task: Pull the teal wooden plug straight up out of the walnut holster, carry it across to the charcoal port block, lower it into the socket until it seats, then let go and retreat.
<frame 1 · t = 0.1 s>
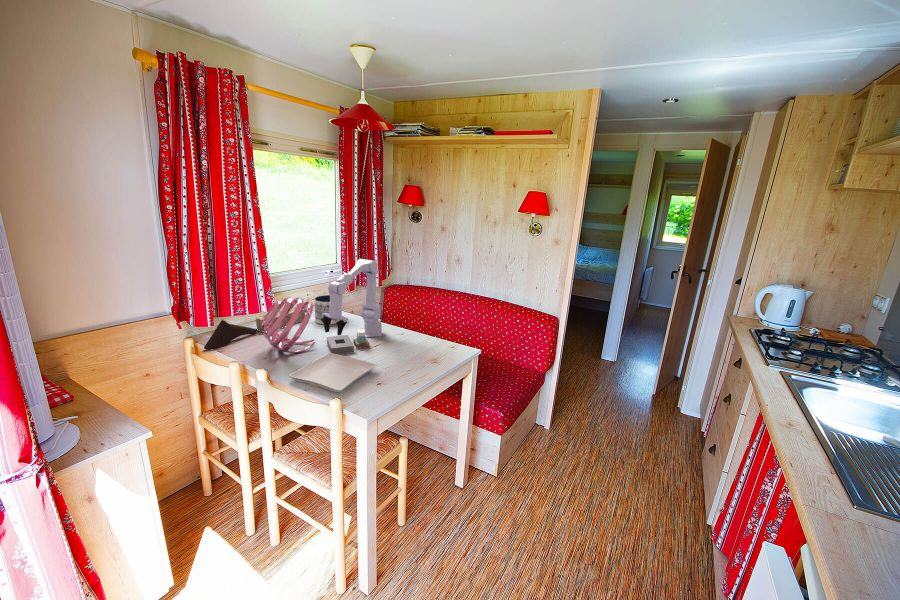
hand: (333, 333, 189), 11 cm above the table, tool pointing down, fingers open, 7 cm apart
holster: (232, 342, 199), on the table
plug: (361, 338, 202), in the plug holster
port block: (340, 347, 199), on the table
square plate: (334, 377, 169), on the table
spiral basket: (290, 348, 194), on the table
planter: (328, 320, 238), on the table
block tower: (283, 325, 226), on the table
plug holster: (361, 345, 203), on the table
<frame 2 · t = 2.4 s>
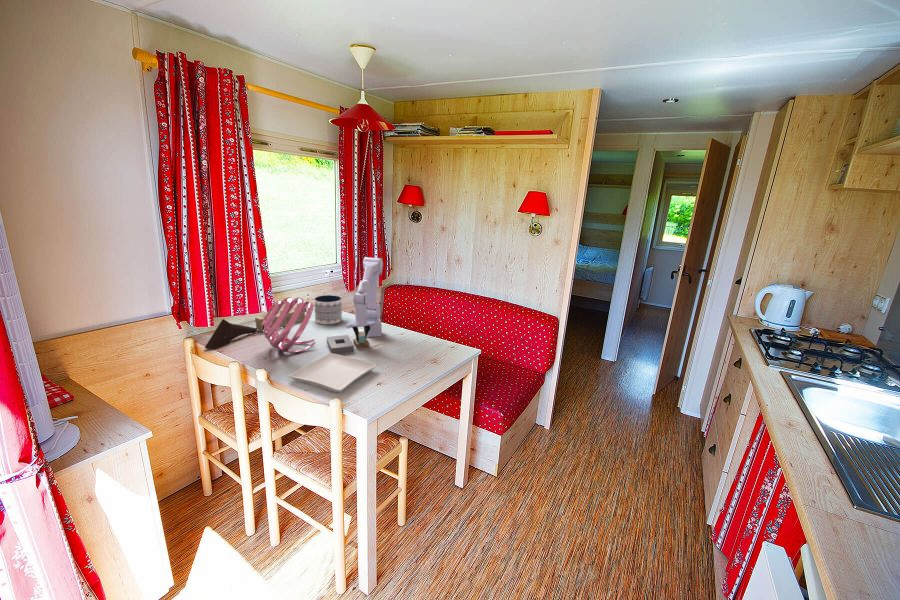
hand: (361, 339, 202), 3 cm above the table, tool pointing down, fingers closed on plug, 3 cm apart
plug: (361, 338, 202), in the plug holster, touching gripper
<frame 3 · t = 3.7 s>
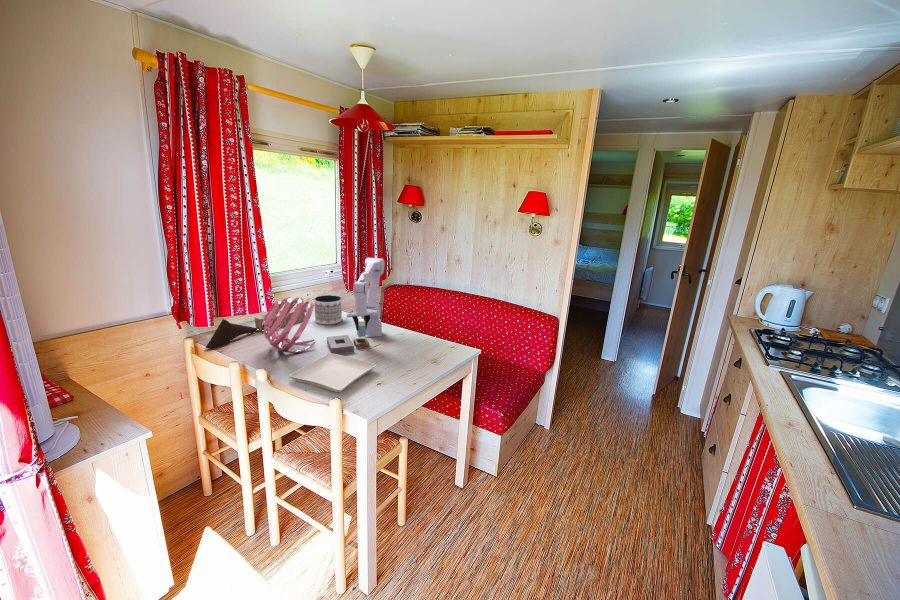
hand: (361, 329, 201), 9 cm above the table, tool pointing down, fingers closed on plug, 3 cm apart
plug: (361, 328, 201), point 10 cm above the table, touching gripper
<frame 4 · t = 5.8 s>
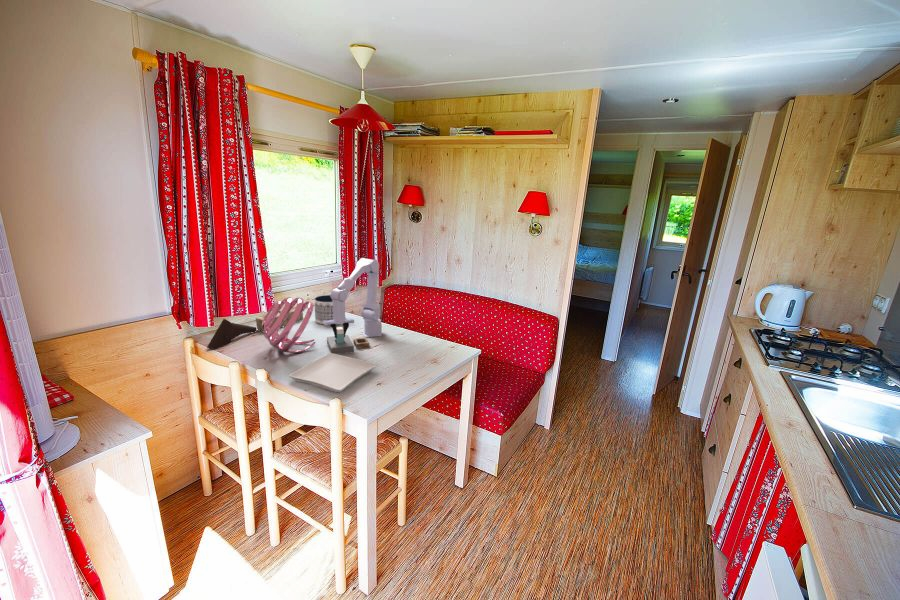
hand: (339, 337, 197), 6 cm above the table, tool pointing down, fingers closed on plug, 3 cm apart
plug: (339, 336, 197), point 6 cm above the table, touching gripper
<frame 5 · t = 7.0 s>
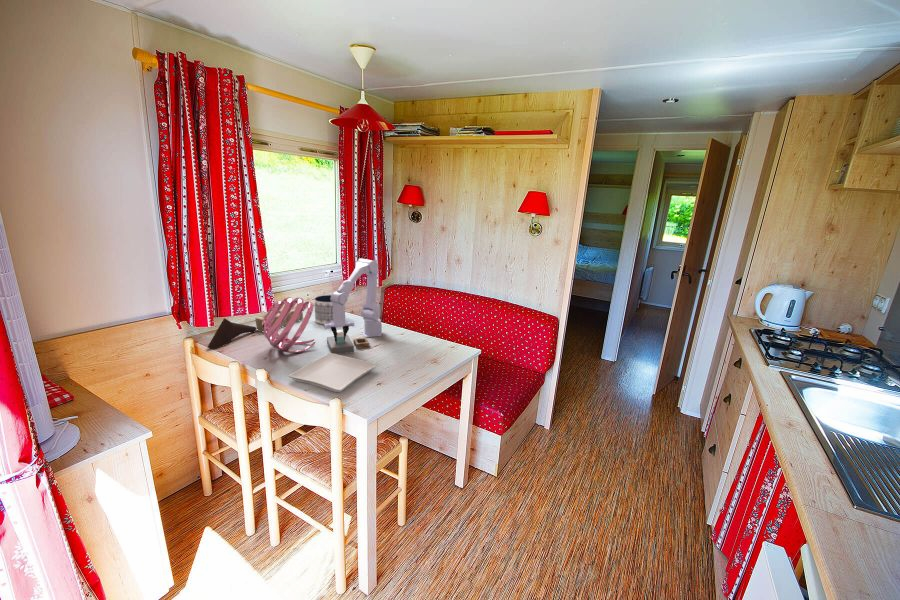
hand: (339, 340, 198), 4 cm above the table, tool pointing down, fingers closed on plug, 3 cm apart
plug: (340, 338, 197), in the port block, point 5 cm above the table, touching gripper
when the fingers open (4 cm above the table, at t = 7.5 s): plug stays where it is, resting on port block.
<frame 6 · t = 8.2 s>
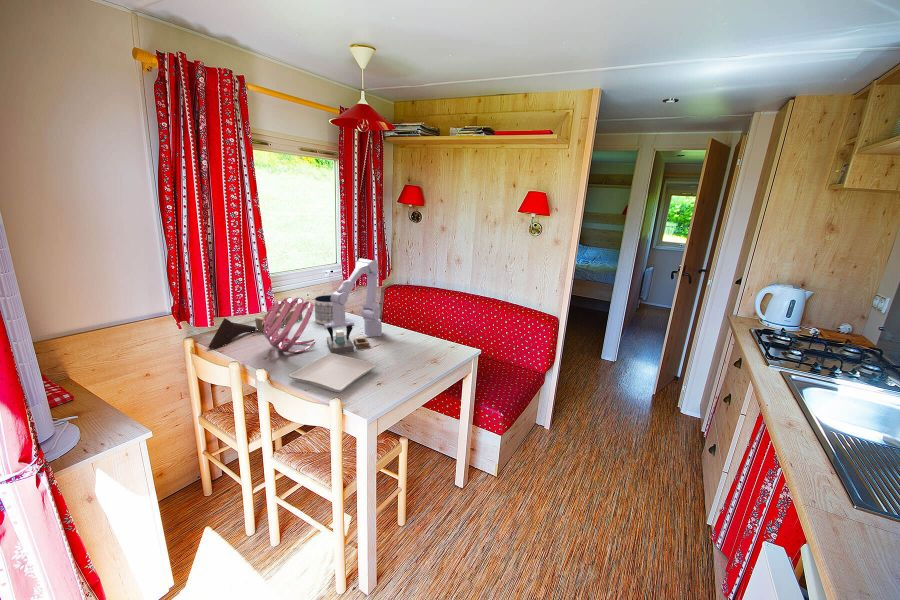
hand: (339, 340, 198), 4 cm above the table, tool pointing down, fingers open, 7 cm apart
plug: (340, 338, 197), in the port block, point 5 cm above the table
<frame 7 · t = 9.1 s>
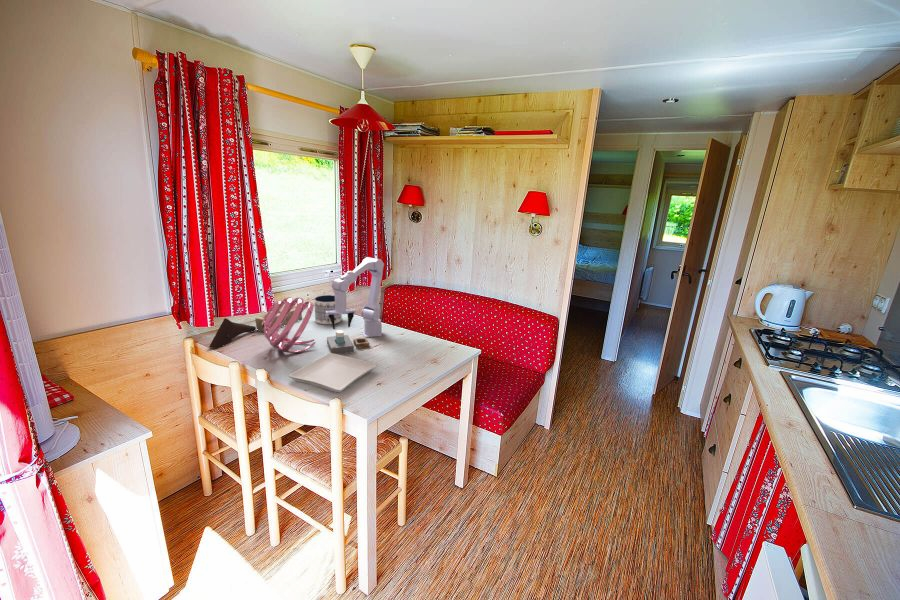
hand: (341, 327, 198), 10 cm above the table, tool pointing down, fingers open, 7 cm apart
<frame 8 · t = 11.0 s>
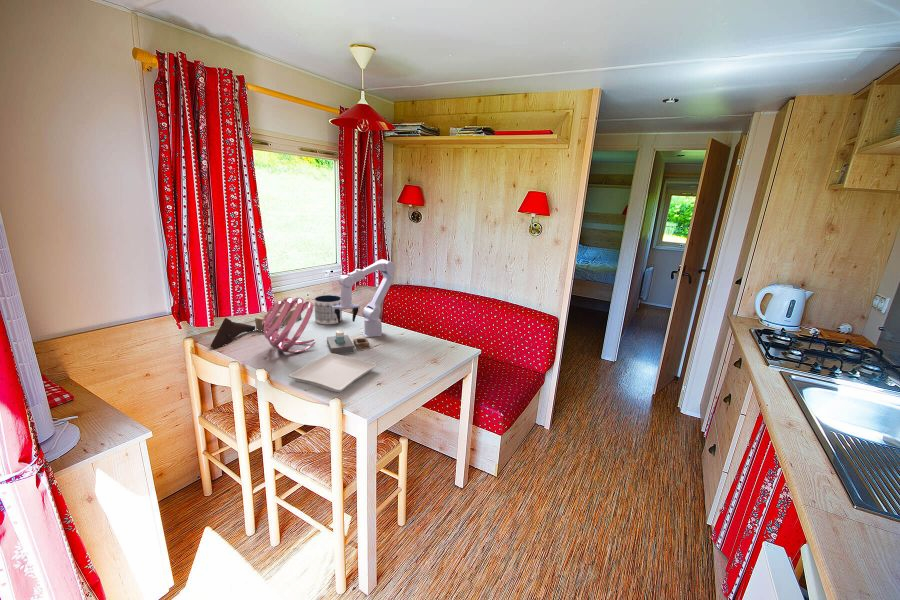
hand: (346, 321, 207), 10 cm above the table, tool pointing down, fingers open, 7 cm apart
at the end: plug 0.2 cm off-centre on the port block, point 4.9 cm above the port block's base; plug tilted 0°; the gripper is holding nothing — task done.
